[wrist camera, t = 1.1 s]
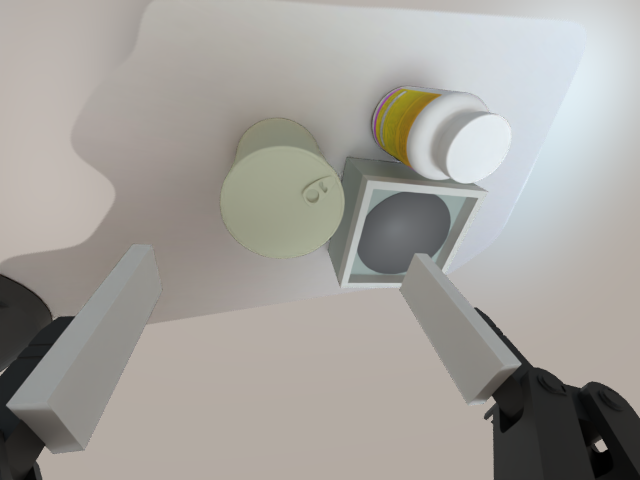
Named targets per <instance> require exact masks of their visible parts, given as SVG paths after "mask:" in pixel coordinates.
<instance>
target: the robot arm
mask: <svg viewBox="0 0 640 480" xmlns="http://www.w3.org/2000/svg"><path fill="white" fill-rule="evenodd" d="M399 290H400V292H401V293H402V295H403V297H404V298H405V300H406V302H407V303H408V305H409V306H410V308H411V310H412V312H413V313H414V315H415V317H416V319H417V320H418V322H419V324H420V325H421V327H422V329H423V330H424V332H425V334H426V335H427V337H428V339H429V340H430V342H431V344H432V345H433V347H434V349H435V351H436V352H437V354H438V356H439V357H440V359H441V361H442V362H443V364H444V366H445V367H446V369H447V371H448V373H449V374H450V376H451V378H452V379H453V381H454V383H455V384H456V386H457V388H458V389H459V391H460V393H461V394H462V396H463V398H464V399H465V401H466V403H467V404H468V405H475V404H484V403H485V402H486V401H487V400H488V399H489V398H490V397H491V396H493V398H494V399H495V401H496V403H495V404H494V405H493V406H492V407H491V408H490V410H488V411H487V413H486V414H485V416H484V419H486V420H487V419H488V418H489V417H490V416H491V415H492V414H493V420H492V421H491V423H493V442H494V444H493V446H494V448H493V449H494V480H640V418H639V417H638V415H637V414H636V412H635V411H634V410H633V408H632V407H631V406H630V405H629V403H628V402H627V401H626V400H625V399H624V398H623V397H622V396H620V395H619V394H618V393H617V392H616V391H614V390H612V389H611V388H609V387H608V386H605V385H603V384H601V383H598V382H589V383H587V384H586V385H585V386H584V387H582V388H577V387H574V386H570V385H566V384H563V382H562V381H560V380H559V379H558V378H557V377H556V376H555V375H553V374H551V373H550V372H548V371H546V370H544V369H540V368H534V367H533V366H532V365H531V364H530V363H529V362H528V361H527V360H526V359H525V357H524V356H523V355H522V354H521V353H520V352H519V351H518V350H517V348H516V347H515V346H514V345H513V344H512V343H511V342H510V340H509V339H508V338H507V337H506V336H505V335H503V333H502V332H501V331H500V329H499V328H497V327H496V325H495V324H494V323H493V321H492V320H491V319H490V318H489V317H488V316H487V315H486V314H484V313H483V312H482V311H480V310H479V309H478V308H473V307H472V305H471V304H470V303H469V302H468V301H467V300H466V298H465V297H464V296H463V295H462V294H461V293H460V292H459V290H458V289H457V288H456V287H455V286H454V285H453V283H452V282H451V281H450V280H449V279H448V278H447V276H446V275H445V274H444V273H443V272H442V271H441V269H440V268H439V267H438V266H437V265H436V264H435V262H434V261H433V260H432V259H431V258H430V257H429V255H428V254H424V253H415V254H414V256H413V259H412V261H411V263H410V266H409V268H408V270H407V273H406V275H405V278H404V280H403V282H402V285H401V287H400V289H399ZM161 292H162V285H161V281H160V276H159V272H158V268H157V263H156V259H155V254H154V250H153V246H152V245H151V244H132V246H131V247H130V248H129V249H128V251H127V252H126V253H125V255H124V256H123V257H122V258H121V260H120V261H119V262H118V263H117V265H116V266H115V267H114V269H113V270H112V271H111V272H110V274H109V275H108V276H107V277H106V279H105V280H104V281H103V282H102V284H101V285H100V286H99V288H98V289H97V290H96V291H95V293H94V294H93V295H92V296H91V298H90V299H89V300H88V302H87V303H86V304H85V305H84V307H83V308H82V309H81V310H80V312H79V313H78V314H77V315H76V316H65V317H58V318H57V319H56V320H54V321H53V322H52V321H51V316H50V313H49V311H48V309H47V308H46V306H45V305H44V304H43V302H42V301H41V300H40V299H39V298H38V297H36V296H35V295H34V294H33V293H31V292H30V291H29V290H27V289H26V288H24V287H22V286H21V285H19V284H17V283H15V282H13V281H11V280H9V279H7V278H5V277H2V276H0V372H1V371H2V370H4V369H5V368H7V367H8V366H9V365H10V366H9V367H8V368H7V369H6V370H5V371H4V372H3V374H2V375H1V376H0V480H42V476H41V472H40V468H39V465H38V464H37V462H36V459H37V458H38V456H39V454H40V453H41V451H42V449H43V448H44V446H46V447H47V448H48V449H49V450H50V451H51V452H52V453H53V454H57V453H66V452H74V451H83V450H85V448H86V446H87V444H88V442H89V440H90V438H91V436H92V434H93V432H94V430H95V428H96V426H97V424H98V422H99V420H100V418H101V416H102V413H103V411H104V409H105V407H106V405H107V403H108V401H109V399H110V397H111V395H112V393H113V391H114V389H115V387H116V385H117V383H118V381H119V379H120V376H121V374H122V372H123V370H124V368H125V366H126V364H127V362H128V360H129V358H130V356H131V354H132V352H133V350H134V347H135V346H136V344H137V342H138V339H139V337H140V335H141V333H142V331H143V329H144V327H145V325H146V323H147V321H148V319H149V317H150V315H151V313H152V311H153V309H154V307H155V305H156V303H157V300H158V298H159V296H160V294H161ZM601 439H603V441H604V443H605V444H606V446H607V448H608V449H607V450H605V451H604V452H599V451H598V449H597V448H596V446H595V444H594V443H596V442H597V441H599V440H601Z"/></svg>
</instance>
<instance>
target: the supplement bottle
mask: <svg viewBox="0 0 640 480" xmlns="http://www.w3.org/2000/svg"><path fill="white" fill-rule="evenodd" d="M372 131H373V136H374V139H375V141H376V143H377V144H378V145H379V146H380V147H381V148H382V149H383V150H384V151H386V152H387V153H389V154H390V155H392V156H393V157H395V158H396V159H398V160H399V161H401V162H402V163H404V164H405V165H407V166H408V167H410V168H411V169H412V170H414V171H415V172H417V173H418V174H420V175H422V176H423V177H425V178H428V179H433V180H445V179H449V178H451V179H453V180H455V181H456V182H459V183H465V184H467V183H474V182H477V181H480V180H482V179H483V178H485V177H487V176H488V175H490V174H491V173H492V172H493V171H494V170H496V168H497V167H498V166H499V165H500V164H501V163H502V161H503V160H504V158H505V156H506V155H507V153H508V150H509V147H510V144H511V139H512V133H511V128H510V125H509V123H508V121H507V120H506V119H505V118H504V117H502V116H500V115H497V114H494V113H490V112H489V110H488V108H487V106H486V104H485V103H484V102H483V101H482V100H481V99H480V98H479V97H477V96H476V95H473V94H470V93H466V92H458V91H448V90H440V89H431V88H422V87H414V86H404V87H400V88H397V89H395V90H393V91H391V92H390V93H388V94H387V95H386V96H385V97H384V98H383V99H382V100H381V102H380V103H379V105H378V106H377V108H376V110H375V113H374V116H373V121H372Z"/></svg>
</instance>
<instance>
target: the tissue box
mask: <svg viewBox="0 0 640 480" xmlns="http://www.w3.org/2000/svg"><path fill="white" fill-rule="evenodd" d="M342 187H343V191H344V198H345V205H344V212H343V217H342V220H341V222H340V224H339V226H338V228H337V230H336V231H335V233H334V234H333V236H332V237H331V239H330V244H329V249H328V252H329V255H330V258H331V261H332V264H333V267H334V270H335V273H336V276H337V279H338V282H339V285H340V288H400V287H401V285H402V282H403V280H404V278H405V275H406V273H407V270H408V268H409V266H410V263H411V261H412V259H413V256H414V254H415V253H424V254H428V255H429V257H430V258H431V259H432V260H433V261H434V262H435V264H436V265H437V266H438V267H439V268H440V269H441V271H442V272H443V273H444V274H446V272H447V270H448V268H449V266H450V264H451V262H452V260H453V258H454V256H455V254H456V252H457V251H458V249H459V247H460V245H461V243H462V241H463V239H464V237H465V235H466V233H467V231H468V230H469V228H470V226H471V224H472V222H473V220H474V218H475V216H476V214H477V212H478V210H479V208H480V207H481V205H482V203H483V201H484V199H485V197H486V195H487V193H488V191H486V190H485V189H483V188H481V187H479V186H477V185H475V184H474V183H467V184H465V183H459V182H456V181H455V180H453V179H451V178H449V179H445V180H433V179H428V178H425V177H423V176H422V175H420V174H418V173H417V172H415V171H414V170H412V169H411V168H410V167H408V166H407V165H405V164H403V163H394V162H385V161H376V160H367V159H359V158H350V157H347V159H346V164H345V169H344V174H343V179H342Z"/></svg>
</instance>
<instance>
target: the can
mask: <svg viewBox="0 0 640 480" xmlns="http://www.w3.org/2000/svg"><path fill="white" fill-rule="evenodd" d="M344 205H345V198H344V191H343V187H342V184H341V182H340V179H339V177H338V176H337V174H336V172H335V171H334V169H333V168H332V167H331V166H330V165H329V164H328V163H327V161H326V160H325V158H324V157H323V155H322V154H321V152H320V151H319V148H318V145H317V143H316V141H315V139H314V138H313V136H312V135H311V134H310V133H309V132H308V131H307V130H306V129H305V128H304V127H302V126H301V125H299V124H298V123H296V122H294V121H291V120H288V119H283V118H271V119H266V120H263V121H260V122H258V123H256V124H254V125H253V126H252V127H250V128H249V129H248V130H247V131H246V132H245V133H244V135H243V136H242V138H241V140H240V141H239V144H238V147H237V151H236V157H235V160H234V163H233V165H232V167H231V170H230V172H229V173H228V175H227V176H226V178H225V180H224V183H223V186H222V189H221V194H220V210H221V215H222V218H223V221H224V223H225V226H226V227H227V229H228V231H229V232H230V234H231V235H232V236H233V237H234V239H235V240H236V241H238V242H239V243H240V244H241V245H242V246H244V247H245V248H247V249H248V250H250V251H252V252H254V253H256V254H259V255H262V256H265V257H270V258H278V259H286V258H294V257H299V256H302V255H305V254H308V253H310V252H312V251H314V250H316V249H318V248H319V247H321V246H322V245H323V244H325V243H326V242H327V241H328V240H329V239H330V238H331V237H332V236H333V234H334V233H335V231H336V230H337V228H338V226H339V224H340V222H341V220H342V217H343V212H344Z"/></svg>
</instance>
